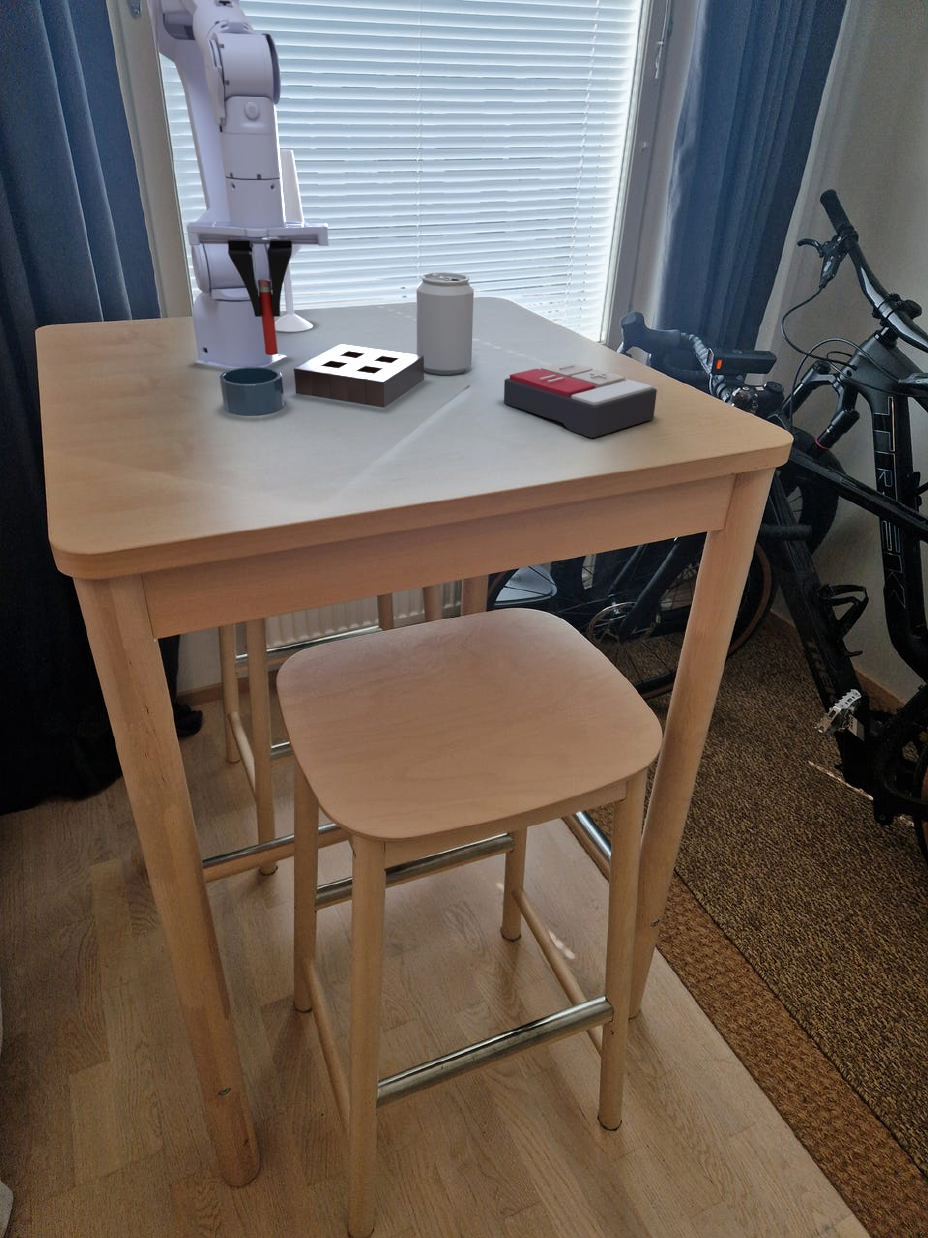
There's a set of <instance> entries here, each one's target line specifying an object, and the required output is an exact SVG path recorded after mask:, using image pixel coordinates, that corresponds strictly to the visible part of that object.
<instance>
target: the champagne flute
mask: <svg viewBox="0 0 928 1238" xmlns="http://www.w3.org/2000/svg"><path fill="white" fill-rule="evenodd" d="M279 152H280V164H281V176H282V188H283V199H284V211H285V222H300V223H305V219H304V213H303V212H304V211H303V207H302V206H303V205H302V199H301V194H300V187H299V179H298V174H297V169H296V163H295V155H294V150H292V149H286V148H279ZM270 238H277V236H276V237H270ZM292 246H293V248H292V255H291V258H290V260H292V259H293V258H294V257H295V256H296V255H297V254H298V252H299V251H300V250H301V249H302V248H303V246H304V244H292ZM292 283H293V282H292V274H291V262H290V261H289V264H288V267H287V270H286V273H285V277H284V281H283V291H284V302H285V314H284V315H282V316H281V317H280V318H278V319H277V320H276V321H275V329H276V332H287V333H292V332H293V333H294V332H303V331H308V330H310V329H312V328H314V326H313V324H312V323H310V322H309V321H308V320H306V319H304V318H302V317H301V316H299V315H298V314H296V313H295V309H294V297H293V284H292Z"/></svg>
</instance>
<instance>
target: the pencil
mask: <svg viewBox="0 0 928 1238" xmlns="http://www.w3.org/2000/svg"><path fill="white" fill-rule="evenodd" d="M258 290H259V298H260V305H261V314H262V326H263V335H264V344H265V353H266V354H267V355H275V354H279V352H278V341H277V330H276V329H275V322H276V321H275V319H276V318H275V317H273V309H272V287H271V281H270V279H258Z"/></svg>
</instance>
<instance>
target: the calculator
mask: <svg viewBox="0 0 928 1238" xmlns="http://www.w3.org/2000/svg"><path fill="white" fill-rule="evenodd" d="M503 382H504V385H503V403H504V404H505V405H508V406H511V407H514V408H517V409H520V410H523V411H525V412H529V413H531V414H535V415H538V416H540V417H544V418H547V419H550V420H553V421H556V422H559V423H562V425H564V426H565V428H566V429H567V430H568V431H570V432H572V433H576V434H578V435H581V436H585V437H588V438H590V439H591V438H592V439H593V438H597V437H601V436H603V435H604V436H605V435H607V434H610V433H613V432H617V431H619V430H623V429H626V428H628V427H632V426H635V425H638V424H641V423H644V422H647V421H651V420H653V419H654V418H655V409H656V401H657V393H658V389H656V387H655V388H654V387H653V385H650V384H647V383H643V382H639V381H635V380H632V379H626V377H625V376H622V375H619V374H615V373H612V372H608V371H603V370H601V369H593V368H592V367H588V366H584V365H581V364H578V363H577V364H576V363H573V362H569V361H563V362H559V363H554V364H549V365H546V366H542V367H540V368H532V369H528V370H524V371H520V372H516V373H511V374H510V375H509V377H508V378H505V379H504V381H503Z"/></svg>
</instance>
